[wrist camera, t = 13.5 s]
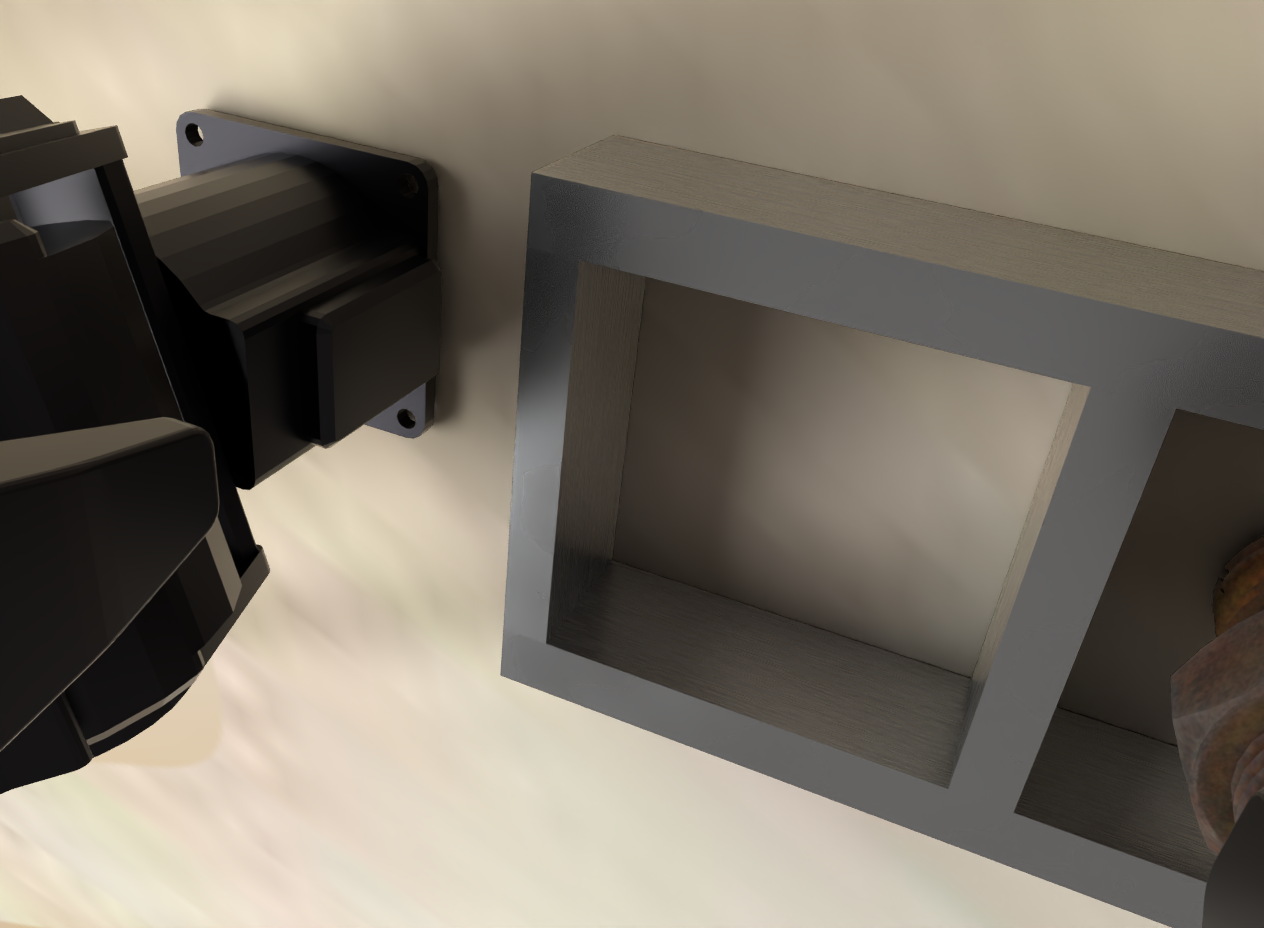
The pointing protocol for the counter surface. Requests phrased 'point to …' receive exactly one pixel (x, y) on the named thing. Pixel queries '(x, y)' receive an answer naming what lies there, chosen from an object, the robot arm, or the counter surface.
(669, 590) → the grey divided tray
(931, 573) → the counter surface
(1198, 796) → the bolt
